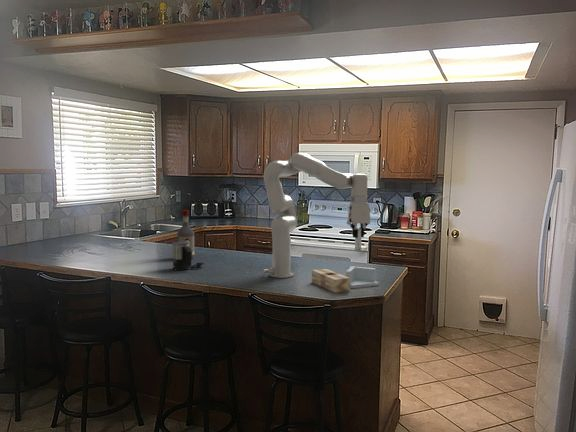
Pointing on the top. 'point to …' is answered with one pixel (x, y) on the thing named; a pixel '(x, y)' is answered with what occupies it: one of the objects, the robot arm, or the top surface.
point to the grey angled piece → (361, 277)
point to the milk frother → (182, 256)
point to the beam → (331, 280)
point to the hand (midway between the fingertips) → (358, 236)
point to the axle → (358, 240)
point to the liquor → (186, 232)
